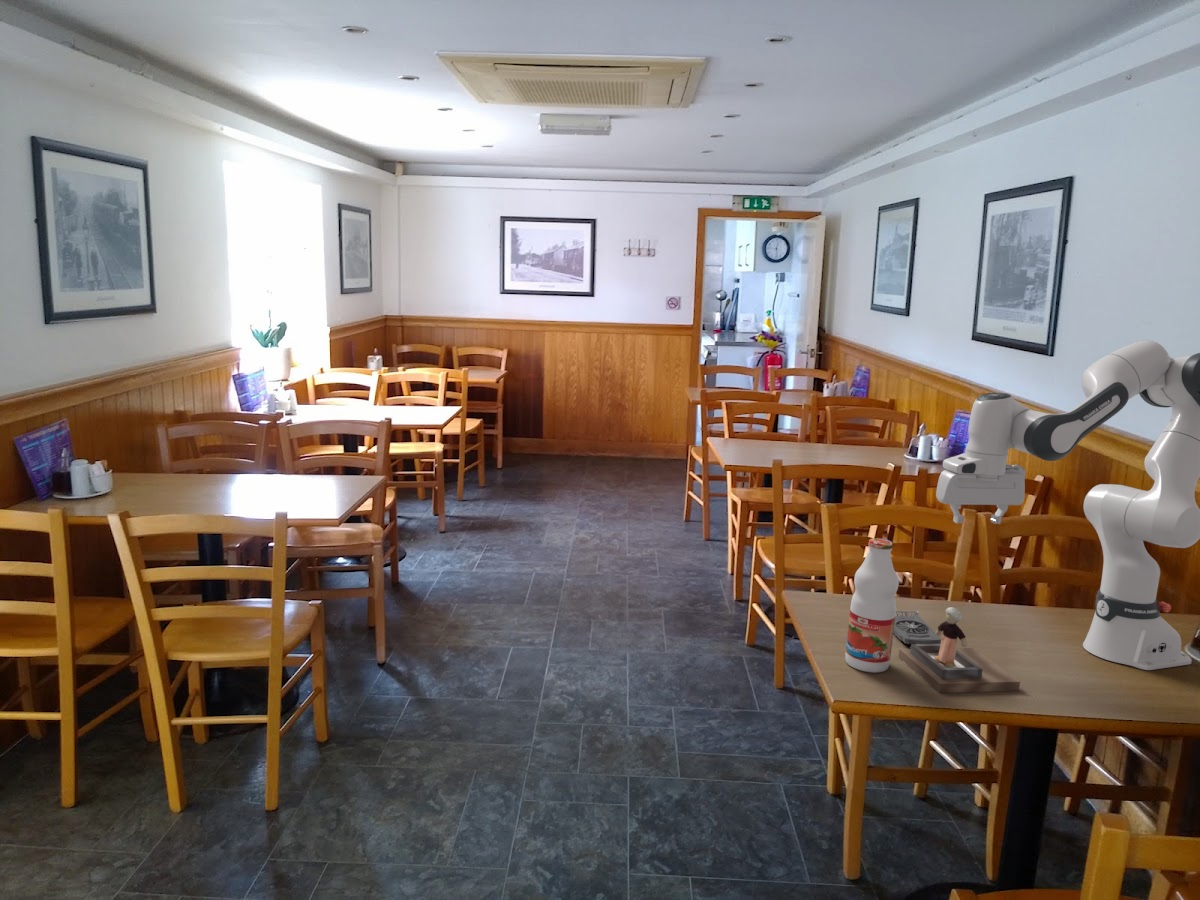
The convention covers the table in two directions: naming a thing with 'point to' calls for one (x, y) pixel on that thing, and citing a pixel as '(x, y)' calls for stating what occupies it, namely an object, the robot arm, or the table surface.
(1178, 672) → the table surface
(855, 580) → the fruit juice
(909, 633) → the graphics card
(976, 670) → the display stand
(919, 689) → the table surface
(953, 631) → the grandmother figurine
